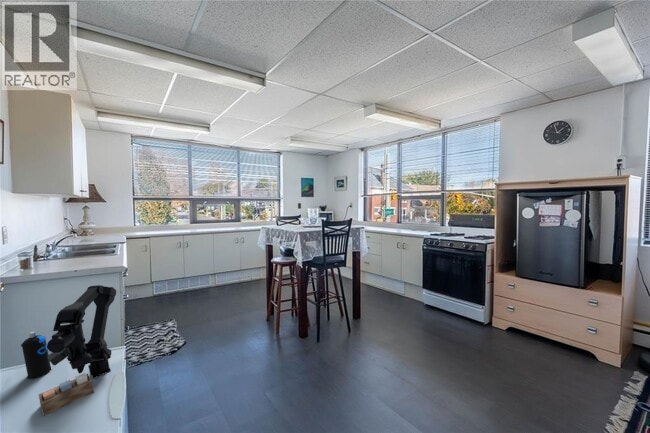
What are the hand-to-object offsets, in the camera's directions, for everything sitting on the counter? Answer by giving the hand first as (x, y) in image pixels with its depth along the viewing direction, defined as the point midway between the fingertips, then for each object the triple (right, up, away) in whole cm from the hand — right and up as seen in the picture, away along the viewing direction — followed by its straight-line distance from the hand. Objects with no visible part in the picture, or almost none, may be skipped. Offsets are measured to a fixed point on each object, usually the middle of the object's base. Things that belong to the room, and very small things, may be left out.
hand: (80, 372), depth 121 cm
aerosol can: (-31, -8, +14) cm, 35 cm away
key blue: (-3, -6, -3) cm, 7 cm away
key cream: (0, -5, +1) cm, 6 cm away
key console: (-3, -9, -3) cm, 10 cm away
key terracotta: (-6, -8, -7) cm, 12 cm away
